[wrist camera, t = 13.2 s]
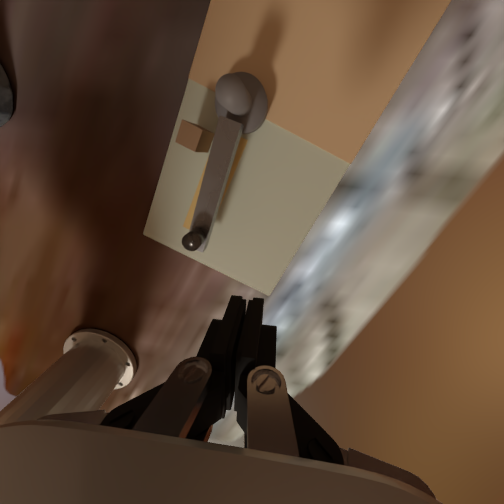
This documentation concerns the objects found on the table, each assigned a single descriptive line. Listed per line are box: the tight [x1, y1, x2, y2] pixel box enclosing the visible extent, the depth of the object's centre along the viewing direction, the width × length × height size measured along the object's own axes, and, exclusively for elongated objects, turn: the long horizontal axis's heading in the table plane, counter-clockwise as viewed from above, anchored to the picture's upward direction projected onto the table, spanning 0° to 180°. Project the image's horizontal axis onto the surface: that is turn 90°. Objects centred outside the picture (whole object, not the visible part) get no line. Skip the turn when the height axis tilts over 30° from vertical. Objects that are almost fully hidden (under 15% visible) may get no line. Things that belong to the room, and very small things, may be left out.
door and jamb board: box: [143, 0, 451, 296], centre depth 22 cm, size 34×18×8 cm, turn 155°
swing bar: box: [182, 115, 244, 253], centre depth 23 cm, size 13×2×4 cm, turn 160°
